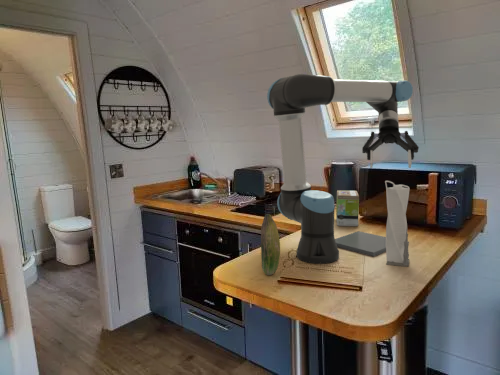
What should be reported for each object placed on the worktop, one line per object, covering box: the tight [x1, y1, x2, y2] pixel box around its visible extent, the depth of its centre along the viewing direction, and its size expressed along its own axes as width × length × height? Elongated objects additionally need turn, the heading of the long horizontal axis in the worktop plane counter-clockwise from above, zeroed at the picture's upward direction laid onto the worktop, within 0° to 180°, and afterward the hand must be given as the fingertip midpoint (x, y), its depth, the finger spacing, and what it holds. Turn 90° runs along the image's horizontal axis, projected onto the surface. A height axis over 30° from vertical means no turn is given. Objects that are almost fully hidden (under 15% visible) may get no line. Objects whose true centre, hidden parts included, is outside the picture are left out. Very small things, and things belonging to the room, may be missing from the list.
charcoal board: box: [335, 230, 386, 257], centre depth 152 cm, size 20×20×2 cm
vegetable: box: [260, 213, 281, 276], centre depth 122 cm, size 6×6×20 cm
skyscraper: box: [384, 180, 410, 268], centre depth 130 cm, size 8×8×28 cm
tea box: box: [335, 190, 360, 227], centre depth 185 cm, size 15×10×15 cm, turn 168°
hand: (390, 165), depth 144 cm, fingers open, 13 cm apart
